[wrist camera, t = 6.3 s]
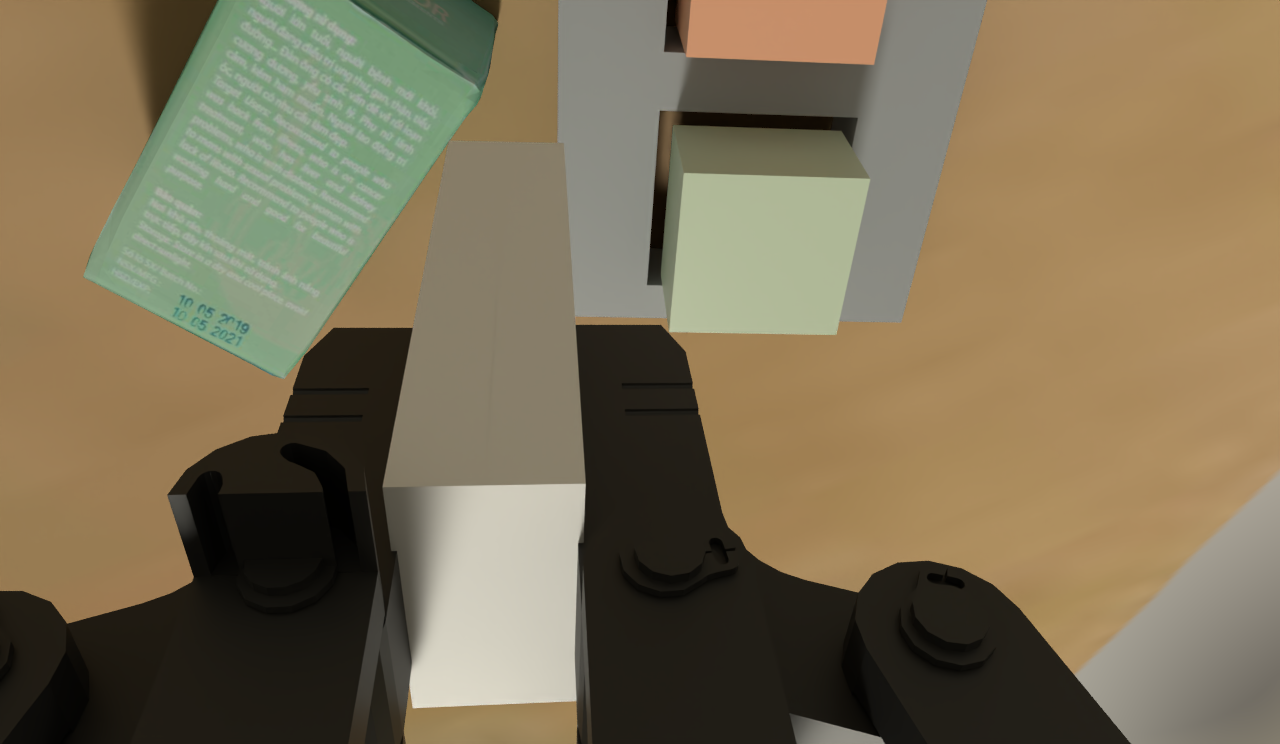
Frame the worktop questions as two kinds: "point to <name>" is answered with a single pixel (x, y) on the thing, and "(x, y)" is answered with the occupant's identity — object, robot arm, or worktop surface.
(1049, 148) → the worktop surface
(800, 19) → the terracotta button
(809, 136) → the sage button
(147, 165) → the box
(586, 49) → the button board
